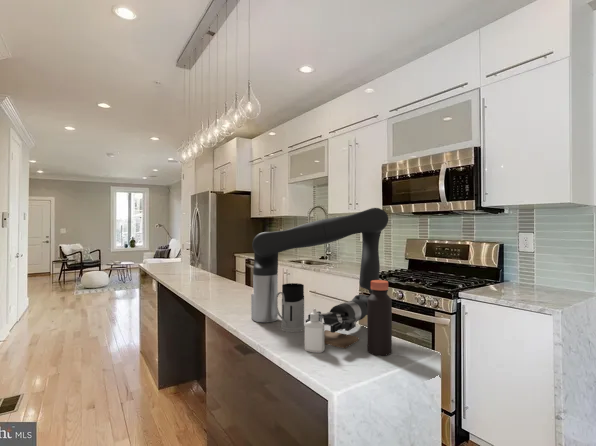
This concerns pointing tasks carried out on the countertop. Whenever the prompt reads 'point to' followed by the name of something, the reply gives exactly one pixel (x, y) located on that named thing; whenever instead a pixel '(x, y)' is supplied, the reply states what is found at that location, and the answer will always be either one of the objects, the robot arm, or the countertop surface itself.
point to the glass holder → (292, 307)
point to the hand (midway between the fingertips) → (318, 326)
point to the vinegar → (379, 319)
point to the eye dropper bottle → (314, 334)
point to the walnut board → (339, 339)
